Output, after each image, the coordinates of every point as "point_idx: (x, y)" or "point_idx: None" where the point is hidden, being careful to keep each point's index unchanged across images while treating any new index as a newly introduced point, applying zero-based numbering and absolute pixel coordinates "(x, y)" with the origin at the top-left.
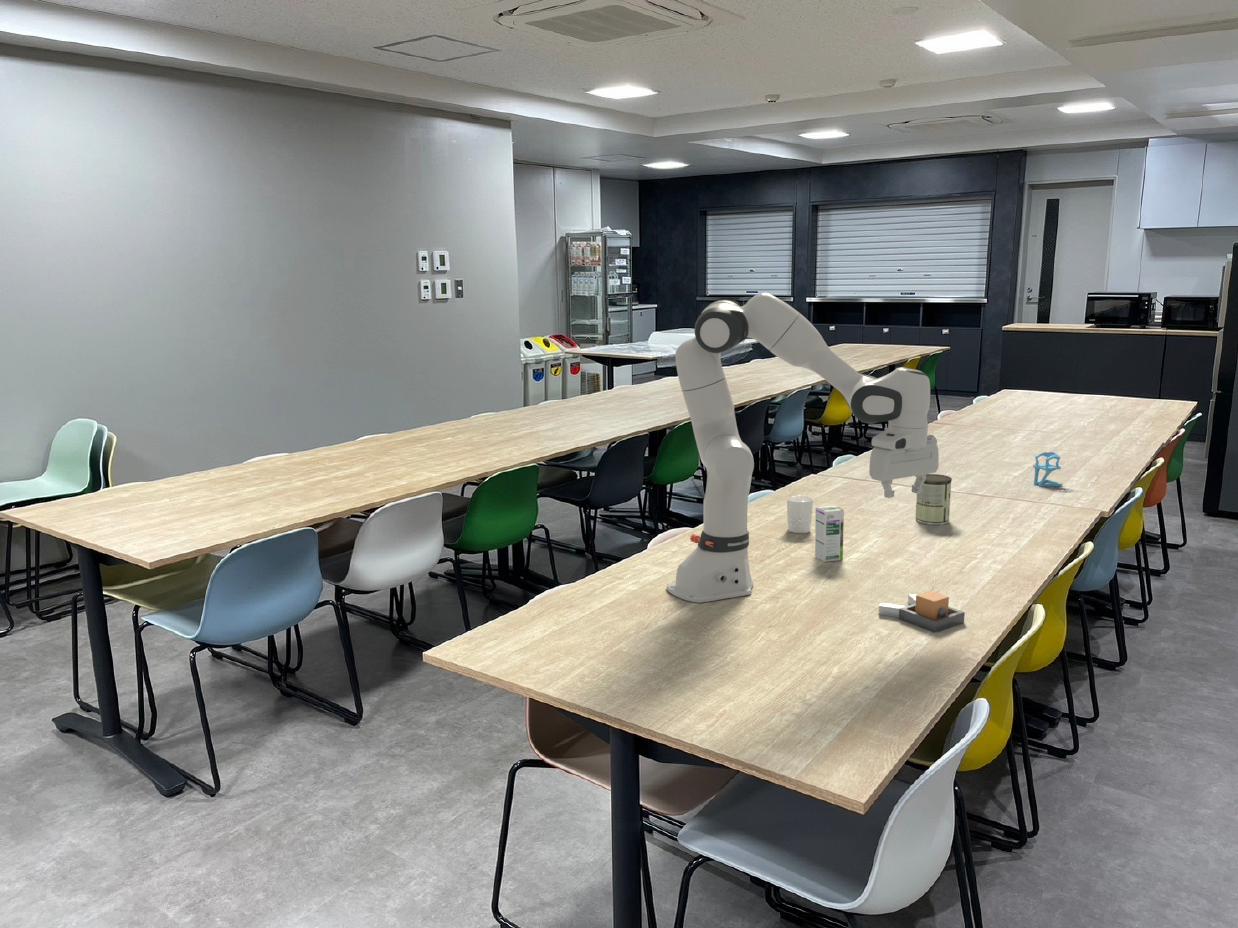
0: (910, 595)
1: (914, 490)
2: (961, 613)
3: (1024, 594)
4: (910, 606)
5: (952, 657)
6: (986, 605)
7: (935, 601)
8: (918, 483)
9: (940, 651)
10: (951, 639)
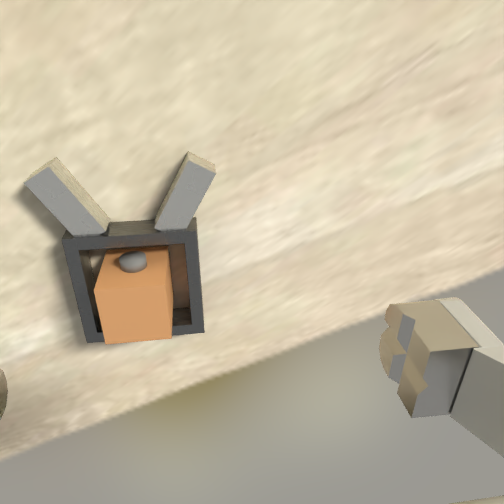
0: (184, 172)
1: (398, 340)
2: (192, 332)
3: (483, 267)
4: (104, 245)
5: (31, 413)
6: (346, 270)
7: (111, 342)
8: (481, 406)
9: (28, 388)
10: (99, 361)
